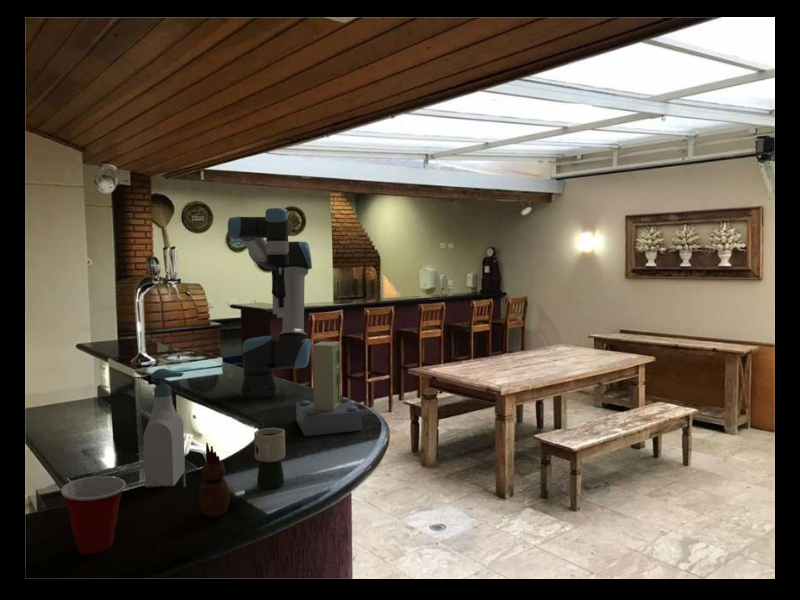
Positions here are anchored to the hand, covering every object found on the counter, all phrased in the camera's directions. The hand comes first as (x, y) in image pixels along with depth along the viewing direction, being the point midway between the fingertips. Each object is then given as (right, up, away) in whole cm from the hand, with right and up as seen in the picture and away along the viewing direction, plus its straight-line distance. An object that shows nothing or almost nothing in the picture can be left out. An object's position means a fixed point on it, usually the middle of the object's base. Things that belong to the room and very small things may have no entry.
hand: (278, 315), depth 204 cm
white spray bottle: (-15, -39, -58) cm, 72 cm away
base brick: (+18, -35, -12) cm, 42 cm away
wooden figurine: (+3, -40, -79) cm, 88 cm away
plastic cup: (-15, -41, -93) cm, 103 cm away
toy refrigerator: (+19, -30, -13) cm, 37 cm away
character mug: (+11, -39, -63) cm, 75 cm away
